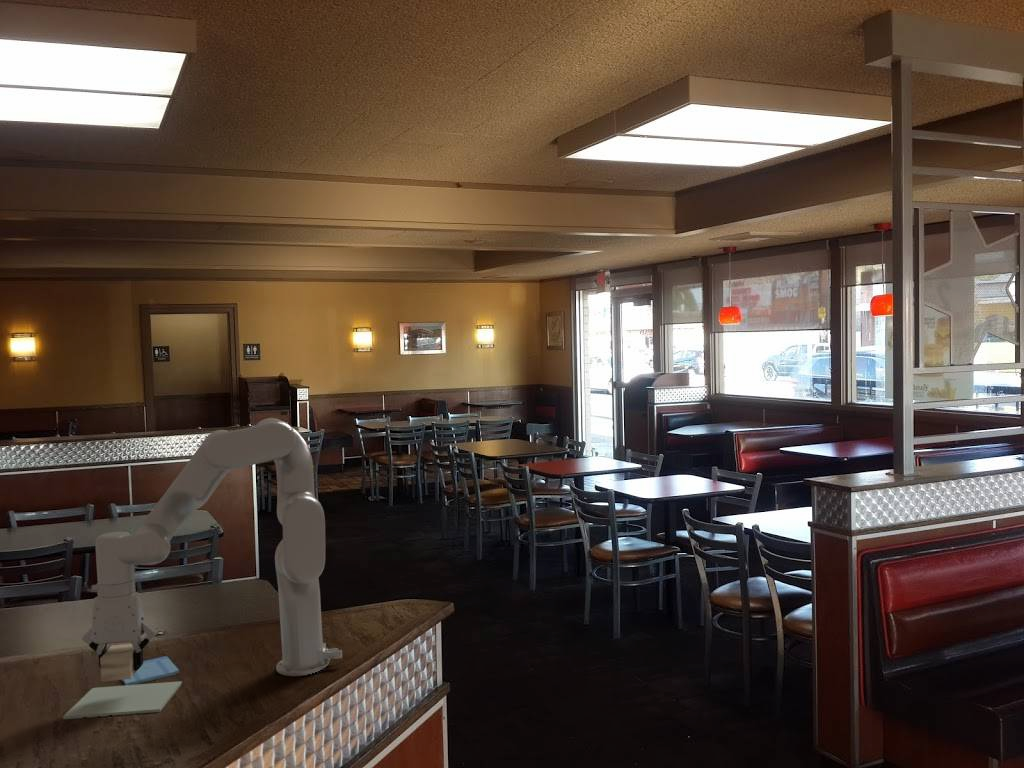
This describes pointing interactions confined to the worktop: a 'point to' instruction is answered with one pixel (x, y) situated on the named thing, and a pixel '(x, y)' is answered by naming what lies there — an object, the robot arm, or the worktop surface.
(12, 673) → the worktop surface
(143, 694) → the card mat
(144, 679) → the waterproof phone case
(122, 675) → the card box
